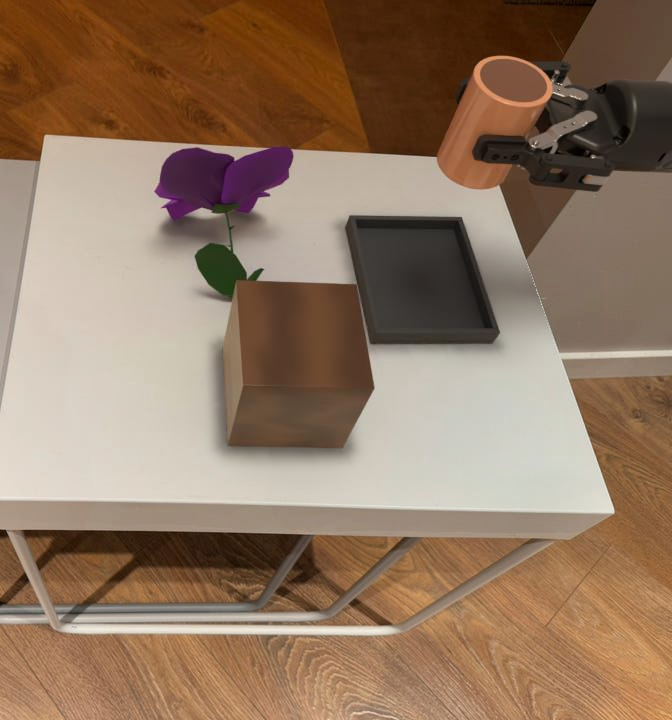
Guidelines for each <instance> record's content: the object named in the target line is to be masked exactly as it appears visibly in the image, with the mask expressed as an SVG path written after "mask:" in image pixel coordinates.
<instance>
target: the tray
mask: <svg viewBox="0 0 672 720" xmlns="http://www.w3.org/2000/svg"><path fill="white" fill-rule="evenodd" d="M344 227H345V232H346V237H347V242H348V246H349V250H350V251H349V252H350V255H351V260H352V264H353V270H354V273H355V279H356V282H357V283H356V284H357V289H358V294H359V298H360V303H361V307H362V310H363V315H364V316H363V317H364V320H365V324H366V329H367V334H368V339H369V343H370V345H373V344H374V345H384V344H385V345H390V344H391V345H396V344H397V345H402V344H403V345H408V344H411V345H415V344H417V345H418V344H420V345H422V344H423V345H424V344H427V345H430V344H431V345H432V344H437V345H439V344H441V345H442V344H443V345H445V344H448V345H449V344H455V345H458V344H459V345H460V344H463V345H466V344H469V345H471V344H477V345H479V344H480V345H481V344H482V345H483V344H487V345H488V344H490V345H491V344H493V343H495V341H496V339H497V338H498V337H499V335H500V333H501V331H500V328H499V325H498V322H497V319H496V316H495V313H494V310H493V307H492V303H491V301H490V298H489V294H488V292H487V289H486V285H485V283H484V280H483V277H482V274H481V271H480V268H479V264H478V262H477V259H476V254H475V251H474V249H473V247H472V243H471V240H470V237H469V234H468V231H467V228H466V225H465V222H464V219H463V217H462V216H435V215H434V216H433V215H432V216H430V215H429V216H427V215H425V216H424V215H367V214H366V215H365V214H364V215H357V214H349V215H348V219H347V221H346V224H345V226H344Z"/></svg>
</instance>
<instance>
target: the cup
mask: <svg viewBox="0 0 672 720" xmlns="http://www.w3.org/2000/svg"><path fill="white" fill-rule="evenodd" d="M530 62H531V61H527V60H525V59H522V58H520V57H515V56H510V55H492V56H489V57H486V58H483V59H481V60H480V61H478V63H477V64H476V65H475V67H474V68H473V71H472V73H471V75H470V77H469V78H470V80H469V82H468V84H467V87H466V89H465V91H464V93H463V96H462V98H461V100H460V103H459V104H457V107H456V110H455V112H454V114H453V117H452V119H451V120H450V123H449V126H448V128H447V130H446V132H445V135H444V137H443V139H442V142H441V143H440V146H439V148H438V151H437V153H436V163H437V165H438V168H439V169H440V171H441V172H442V173H443V175H444V176H445V177H446V178H448V179H449V180H450V181H451V182H453V183H455V184H457V185H459V186H462V187H464V188H468V189H472V190H491V189H493V188H496V187H498V186H500V185H501V184H502V183H503V182H504V181H505V180H506V178H507V176H508V175H509V173H510V171H511V170H512V168H513V166H514V164H496V163H495V164H491V163H485V162H482V161H476V160H474V158H473V155H472V150H473V148H474V146H475V144H476V142H477V139H478V138H479V137H480V136H481V135H485V134H487V135H507V136H524V137H525V140H526V142H528V140H529V137H530V135H531V133H532V132H533V130H534V128H535V124H536V123H537V121H538V119H539V117H540V115H541V114H542V112H543V110H544V108H545V106H546V105H547V103H548V101H549V99H550V98H551V96H552V92H553V87H552V83H551V81H550V79H549V78H548V76H547V75H546V74H545V73H544V72H543V71H542V70H541V69H540V68H538V67H537V66H535V65H533V64H532V63H530Z"/></svg>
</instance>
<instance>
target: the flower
mask: <svg viewBox="0 0 672 720" xmlns="http://www.w3.org/2000/svg"><path fill="white" fill-rule="evenodd" d="M293 161H294V151H293V150H292V148H291V147H288V146H285V145H284V146H283V145H282V146H272V147H270V148H265V149H262V150H259V151H256V152H251V153H249V154H246V155H243V156H242V157H240V158H238V159H236V160H235V157H234V156H232V155H231V154H230V153H229V154H228V153H222V152H215V151H211V150H208V149H204V148H201V147H198V146H197V147H195V146H194V147H187V148H181V149H179V150H177V151H174V152H172V153H171V154H170V155H169V156H168V157H166V158H165V161H164V162H163V163H162V165H161V170H160V173H159V182H158V183H157V185H156V187H155V189H154V191H153V192H154V194H156V195H157V196H158V198H161V199H164V200H169V201H168V202H166V203H165V204H164V205H163V206H161V207H160V209H166V211H167V213H168V216H169V217H170V219H171V220H172V222H173V223H175V222H176V221H178V220H181V219H182V218H183V217H185V216H186V215H188V214H190V213H193V212H195V211H197V210H199V209H205V210H209V211H210V213H212V214H217V215H221V214H224V216H225V219H226V226H227V229H228V236H229V237H228V238H229V244H228V245H227V244H226V245H225V244H221V243H216V242H215V243H214V242H208V243H207V244H206V245H204V246H203V247H201V248H199V249H198V250H197V252H196V253H195V254H194V259H195V264H196V268H197V269H198V271H199V273H200V274H201V275H202V277H203V279H204V280H205V282H206V283H207V285H208V286H210V287H211V288H212V289H213V290H215V291H216V292H217V293H219V294H220V295H221V296H226V297H227V296H228V297H233V294H234V289H235V284H236V280H247V281H258V279H259V277H260V276H261V274H262V273H263V272H264V271H265V268H263V267H260V268H258V269H256V270H254V271H253V272H252V273H251V274H250V275H249V276H248V272H247V271H246V269H245V268H244V266H243V264H242V262H241V261H240V260H239V257H238V256H237V255H236V254H235V252H234V245H233V236H232V229H233V228H235V225H231V224H230V218H229V214H228V213H231V212H233V211H235V212H237V213H242V214H249V213H250V212H251V211H253V209H254V208H255V206H256V204H257V202H258V200H259V199H260V198H267V197H271V193H269V192H266V191H269V190H271V189H274V188H276V187H278V186H282V185H283V184H285V182H286V181H287V180H289V179H290V169H291V166H292V164H293Z"/></svg>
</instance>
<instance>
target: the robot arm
mask: <svg viewBox="0 0 672 720" xmlns="http://www.w3.org/2000/svg"><path fill="white" fill-rule="evenodd" d="M529 62H530V63H532V64H533V65H535V66H537V67H538V68H540V69H541V70H542V71H543V72H544V73H545V74H546V75H547V76H548V78H549V79H550V81H551V83H552V87H553V92H552V96H551V98H550V99H549V101H548V103H547V105H546V106H545V108H544V110H543V112H542V114H541V115H540V117H539V119H538V121H537V123H536V124H535V126H534V128H536V130H537V131H538V134H537V135H535V136H532V137H530V138H528V139H527V141H526V140H525V137H524V136H507V135H487V134H485V135H481V136H480V137H479V138H478V139H477V142H476V144H475V146H474V148H473V150H472V155H473V158H474V160H476V161H482V162H485V163H491V164H495V163H496V164H513V165H515V166H516V167H517V168H518V169H520V170H521V171H522V170H523V171H527V173H528V174H529V176H528V181H529V183H530V184H532V185H533V186H537V187H547V188H554V189H555V188H557V189H564V190H565V189H566V190H573V191H574V190H575V191H582V192H583V191H584V192H594V193H596V192H599V191H600V190H601V189H602V187H603V186H604V185H605V184H606V182H607V181H608V179H609V178H610V176H611V175H612V173H613V172H634V173H657V174H658V173H660V174H672V81H671V80H668V81H667V80H652V79H651V80H650V79H631V78H630V79H629V78H615V79H611V80H610V81H607V82H605V83H603V84H601V85H600V86H597V87H594V88H589V87H584V86H581V85H579V84H576V83H574V84H573V83H572V82H571V80H570V79H569V76H568V74H569V73H570V71H571V70H572V65H571V64H570V63H569V62H567V61H562V60H561V61H560V60H557V61H555V60H554V61H553V60H552V61H529ZM470 78H471V77H468V78H465V79H462V80H461V81H460V82H459V85H458V88H457V90H456V92H455V94H454V99H455V103H456V104H457V105H459V103H460V100H461V98H462V96H463V93H464V91H465V89H466V87H467V84H468V82H469V80H470ZM553 169H555V170H556V169H557V170H561V171H560V172H557V173H556V172H551V171H552V170H553Z"/></svg>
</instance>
